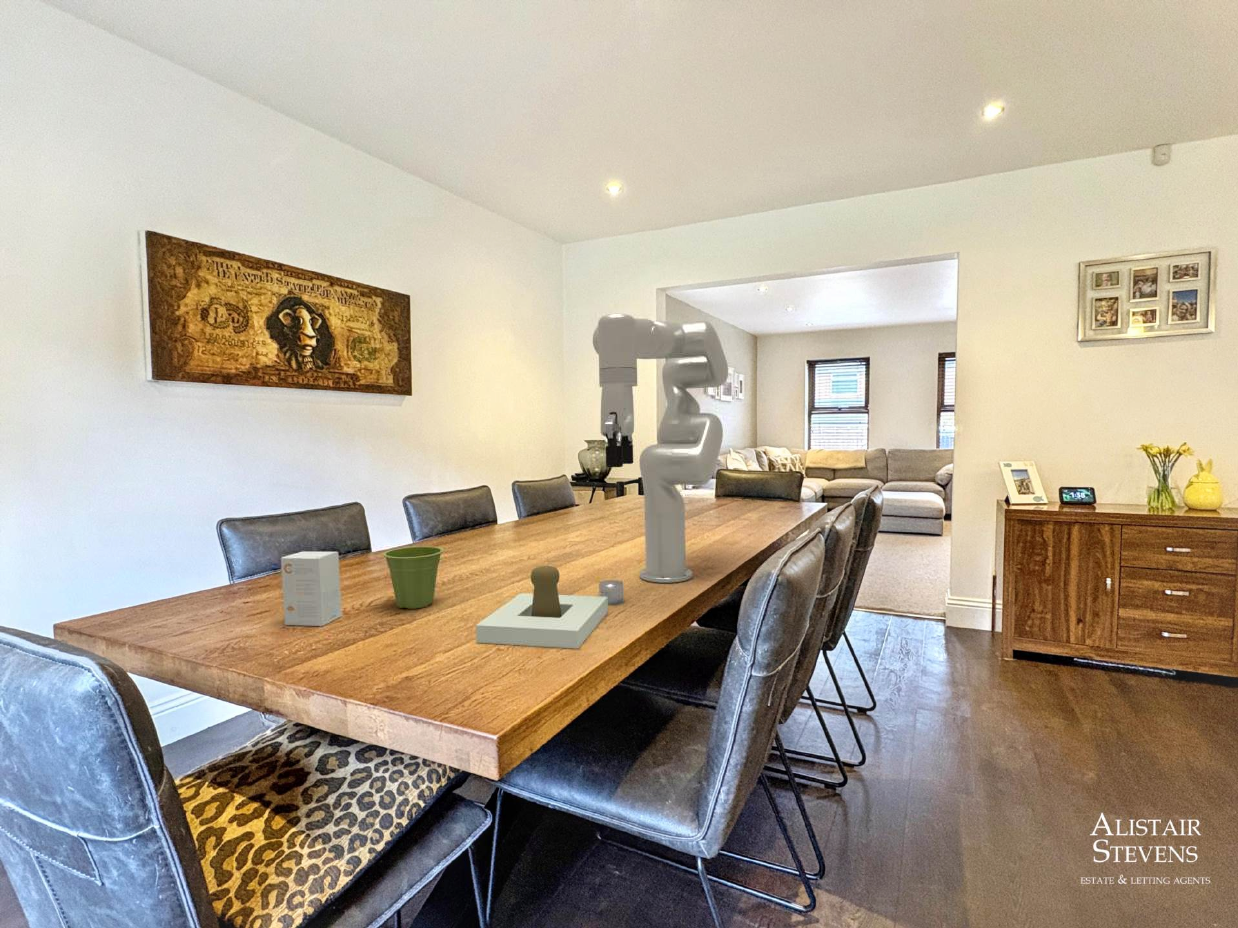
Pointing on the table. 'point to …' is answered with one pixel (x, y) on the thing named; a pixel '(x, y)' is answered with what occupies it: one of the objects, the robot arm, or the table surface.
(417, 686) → the table surface
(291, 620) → the small box
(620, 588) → the short metal pin
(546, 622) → the hole board
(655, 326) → the robot arm
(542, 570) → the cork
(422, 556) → the plant pot
